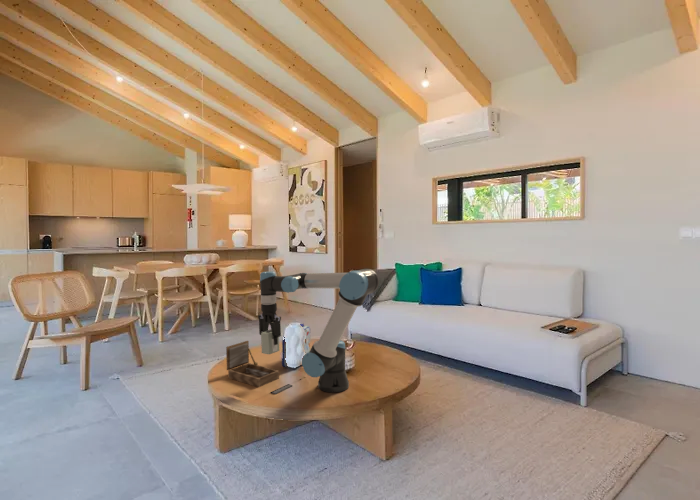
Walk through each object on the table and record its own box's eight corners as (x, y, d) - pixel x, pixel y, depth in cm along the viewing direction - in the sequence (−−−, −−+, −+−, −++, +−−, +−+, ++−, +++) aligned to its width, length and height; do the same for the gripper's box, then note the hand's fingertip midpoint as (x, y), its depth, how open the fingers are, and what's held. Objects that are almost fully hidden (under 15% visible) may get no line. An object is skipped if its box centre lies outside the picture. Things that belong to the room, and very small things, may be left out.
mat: (292, 386, 205) (292, 385, 205) (275, 394, 195) (275, 393, 195) (277, 382, 211) (277, 380, 211) (260, 389, 201) (260, 388, 201)
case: (279, 380, 213) (278, 347, 212) (258, 389, 202) (258, 354, 201) (247, 371, 226) (247, 340, 225) (226, 379, 215) (226, 346, 214)
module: (279, 350, 206) (278, 329, 206) (269, 354, 201) (268, 332, 200) (272, 349, 209) (271, 328, 209) (261, 353, 203) (260, 331, 203)
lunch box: (296, 355, 254) (295, 320, 253) (312, 356, 252) (312, 320, 251) (279, 371, 227) (279, 331, 226) (297, 372, 225) (297, 332, 224)
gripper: (287, 303, 202) (289, 350, 203) (261, 300, 212) (263, 346, 213) (276, 305, 196) (278, 354, 197) (250, 303, 206) (252, 349, 207)
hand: (270, 350), depth 205 cm, fingers closed on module, 5 cm apart
